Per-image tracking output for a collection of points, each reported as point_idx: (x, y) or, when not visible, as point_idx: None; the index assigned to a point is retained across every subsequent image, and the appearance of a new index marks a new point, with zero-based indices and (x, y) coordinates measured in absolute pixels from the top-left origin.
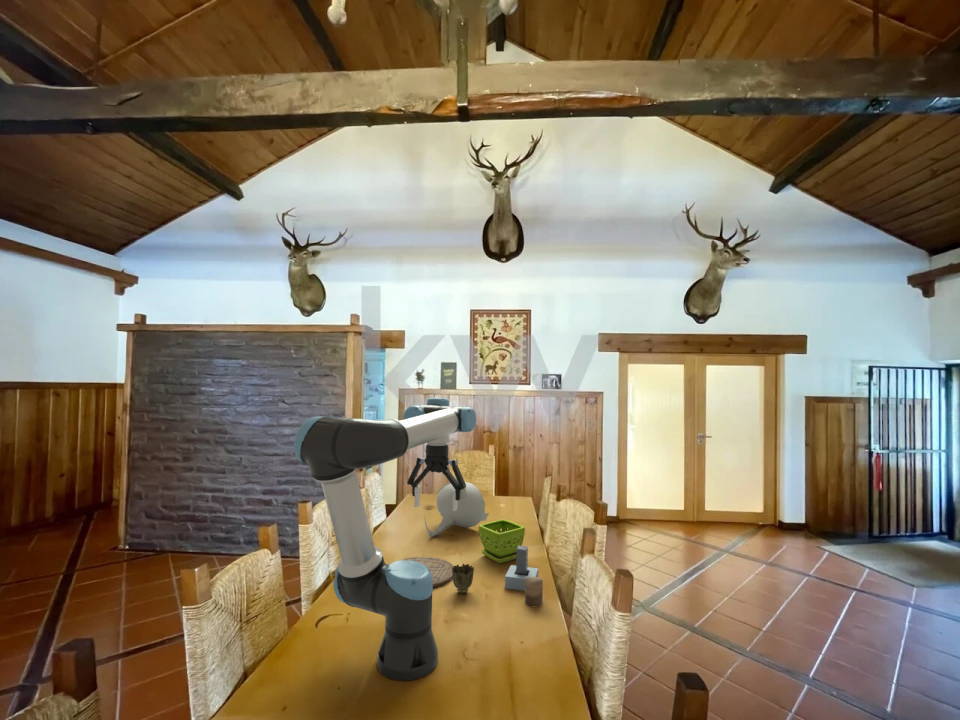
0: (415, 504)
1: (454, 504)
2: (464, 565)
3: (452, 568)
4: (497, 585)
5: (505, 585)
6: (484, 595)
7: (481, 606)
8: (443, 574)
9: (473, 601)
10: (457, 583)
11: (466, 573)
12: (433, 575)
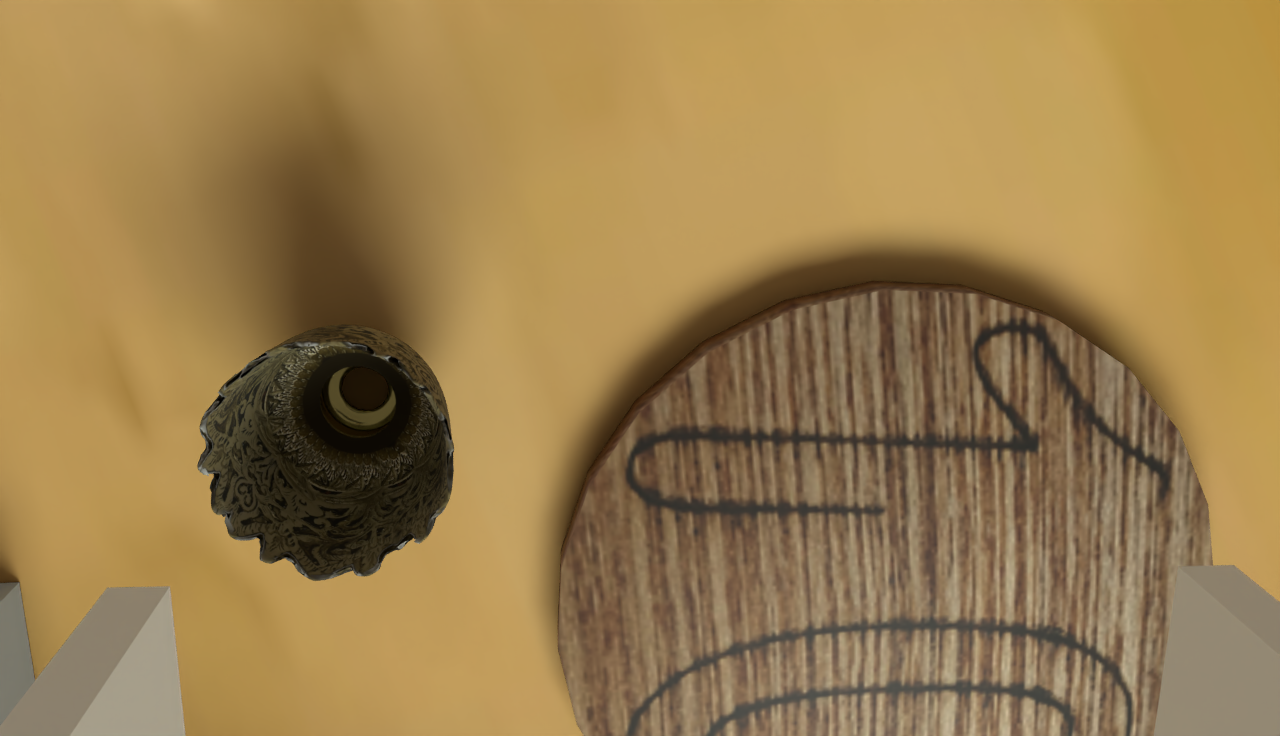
0: (1241, 596)
1: (49, 675)
2: (355, 564)
3: (446, 438)
4: None
5: (3, 594)
6: (148, 393)
7: (93, 185)
8: (639, 596)
9: (201, 252)
10: (367, 329)
11: (340, 524)
12: (723, 546)
